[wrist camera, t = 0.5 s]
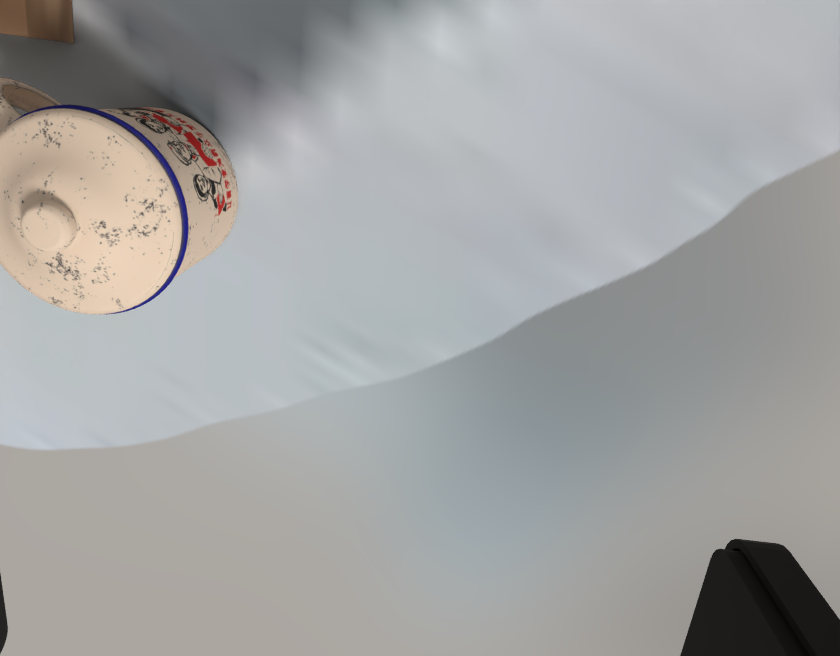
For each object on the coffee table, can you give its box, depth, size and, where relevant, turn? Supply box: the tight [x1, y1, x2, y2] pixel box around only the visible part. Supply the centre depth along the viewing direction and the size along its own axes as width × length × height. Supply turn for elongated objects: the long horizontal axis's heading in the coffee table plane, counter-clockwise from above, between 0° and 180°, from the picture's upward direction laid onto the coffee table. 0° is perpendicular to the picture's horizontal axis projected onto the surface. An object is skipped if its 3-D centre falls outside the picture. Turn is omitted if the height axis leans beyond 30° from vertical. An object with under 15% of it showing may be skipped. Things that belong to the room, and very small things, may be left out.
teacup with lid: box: [0, 77, 238, 314], centre depth 31 cm, size 12×9×12 cm
